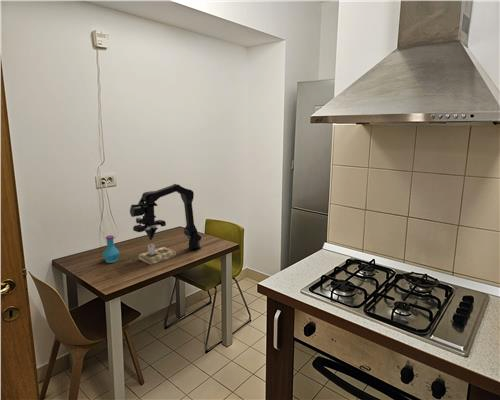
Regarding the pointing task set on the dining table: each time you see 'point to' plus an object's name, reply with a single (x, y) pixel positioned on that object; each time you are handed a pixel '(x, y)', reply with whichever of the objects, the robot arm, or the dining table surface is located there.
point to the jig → (157, 255)
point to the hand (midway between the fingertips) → (150, 239)
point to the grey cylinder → (151, 250)
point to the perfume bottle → (110, 250)
